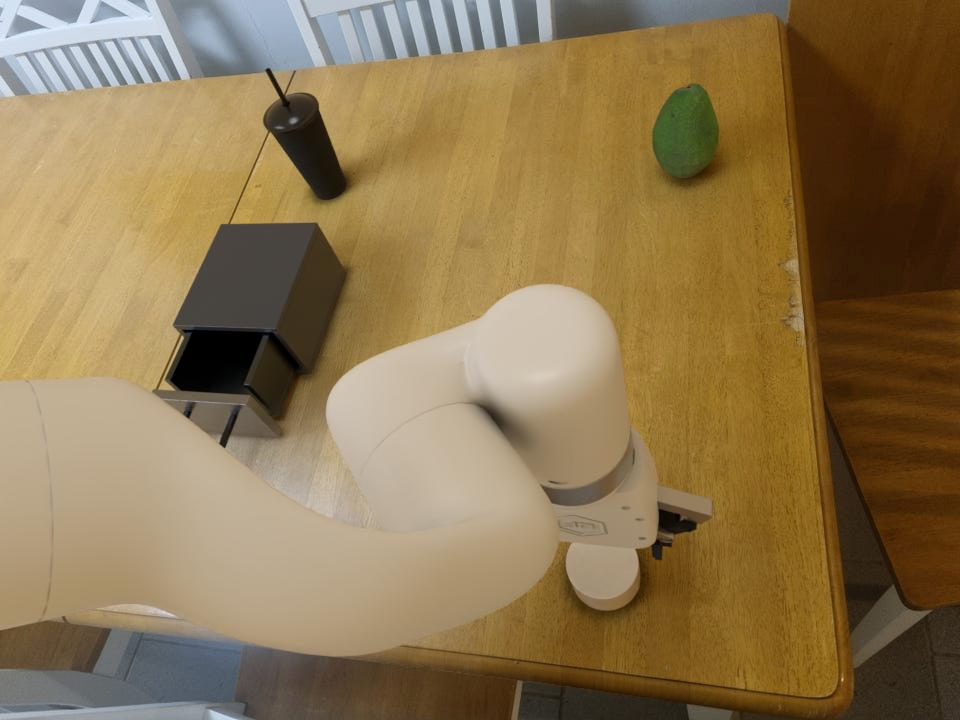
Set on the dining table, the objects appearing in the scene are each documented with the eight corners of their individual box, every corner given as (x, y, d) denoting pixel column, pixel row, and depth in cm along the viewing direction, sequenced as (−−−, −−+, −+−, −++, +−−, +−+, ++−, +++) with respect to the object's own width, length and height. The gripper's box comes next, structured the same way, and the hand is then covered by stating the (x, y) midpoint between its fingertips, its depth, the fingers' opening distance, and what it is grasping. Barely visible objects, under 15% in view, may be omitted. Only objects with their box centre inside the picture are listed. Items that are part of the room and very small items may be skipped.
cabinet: (311, 373, 88) (275, 328, 81) (214, 368, 92) (171, 325, 84) (346, 272, 96) (317, 222, 88) (256, 271, 100) (220, 223, 92)
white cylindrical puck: (613, 625, 65) (610, 614, 62) (557, 582, 69) (551, 569, 65) (654, 568, 67) (653, 555, 64) (597, 528, 70) (593, 513, 67)
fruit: (727, 153, 93) (733, 73, 83) (703, 197, 90) (706, 119, 80) (667, 141, 96) (666, 62, 86) (642, 183, 93) (638, 106, 83)
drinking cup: (323, 215, 103) (256, 98, 87) (296, 191, 107) (228, 75, 91) (365, 184, 105) (308, 63, 88) (338, 161, 109) (278, 42, 93)
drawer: (259, 493, 80) (223, 464, 74) (164, 484, 83) (121, 454, 77) (316, 332, 91) (289, 294, 84) (230, 329, 94) (198, 292, 88)
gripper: (426, 488, 46) (486, 568, 60) (716, 514, 41) (708, 595, 55) (450, 384, 50) (502, 482, 64) (718, 396, 45) (710, 500, 59)
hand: (597, 534), depth 59 cm, fingers open, 9 cm apart
